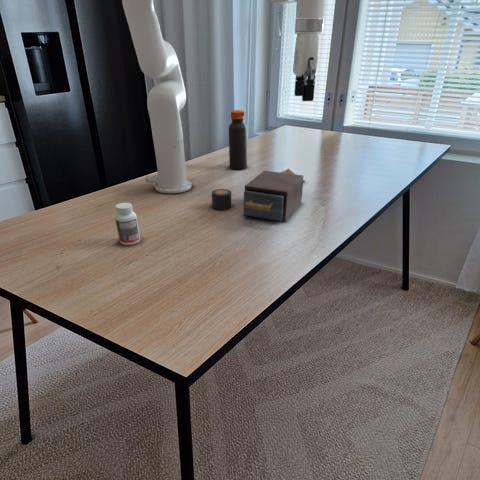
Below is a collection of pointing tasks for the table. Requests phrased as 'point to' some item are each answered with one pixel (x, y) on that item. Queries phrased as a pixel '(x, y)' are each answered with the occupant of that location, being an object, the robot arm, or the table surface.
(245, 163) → the vinegar
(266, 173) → the cabinet
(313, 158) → the table surface
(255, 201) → the drawer
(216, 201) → the tape roll
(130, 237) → the pill bottle
